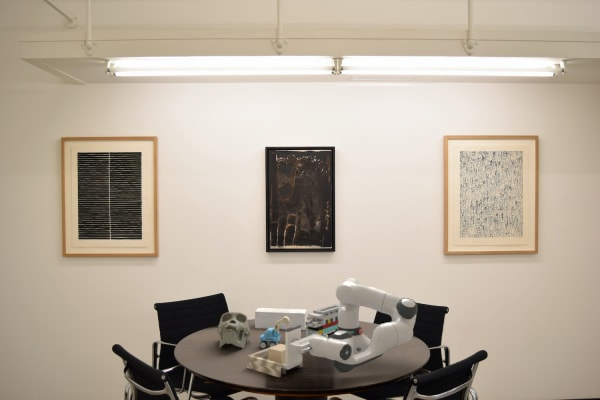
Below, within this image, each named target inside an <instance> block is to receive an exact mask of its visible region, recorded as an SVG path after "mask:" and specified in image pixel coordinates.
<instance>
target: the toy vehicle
mask: <svg viewBox="0 0 600 400" xmlns="http://www.w3.org/2000/svg"><path fill="white" fill-rule="evenodd" d="M338 310H339V304H336V303H334V304H331V305H327V306H325V307H321V308H320V307H319V308H318V309H315V310H312V312H311V313H307V317H309V318H310V319H307V321H305V326H307V328H306V329H305V330H304V331H305V333H304V335H305V337H308V336H310V335H313V334H320V335H324V334H325V335H328V334H331V333H332V332H333V333H334V332H335V331H337V327H338ZM333 333H332V334H333Z"/></svg>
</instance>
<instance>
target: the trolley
mask: <svg viewBox="0 0 600 400" xmlns="http://www.w3.org/2000/svg"><path fill="white" fill-rule="evenodd" d="M300 327H301V324H298V325H295V326H293V327H290V328H287V329H284V331H285V332H284V333H285V343H284V344H282V343H279V344H278V345H276V346H273V347H270V348H269V347H267V348H268V359H267V360H270V361H274V362H277V363H281V376H283V375H286V374H287V371H288V370H290V369H293V368H296V369H299V368H301V367H300V366H301V365H300V364H301V354H299V353H293V352H290V351H289V344H290V343H292V340H293V339H295V338H297V339H302V330H301V328H300Z"/></svg>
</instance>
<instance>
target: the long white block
mask: <svg viewBox="0 0 600 400" xmlns="http://www.w3.org/2000/svg"><path fill="white" fill-rule="evenodd" d="M285 316H287V317H289V319H290V324H289V325H288V326H286V323H285V322H284V323H282V324H281V325H279V330H285V329H287V328H290V327H293V326H295V325H298V324H301V327H300V328H301V331H305V330H306V329H307V328H308V326H305V321H307V320H308V309H306V308H305V309H304V308H303V309H302V308H299V309H297V308H280V307H279V308H274V307H258V308H257V309H256V310H255V311H254V328H255V329H265V330H267V329H269V328H275V323H276V322H277V321H279V320H281V319H283V318H284V317H285Z"/></svg>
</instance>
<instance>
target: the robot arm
mask: <svg viewBox="0 0 600 400" xmlns="http://www.w3.org/2000/svg"><path fill="white" fill-rule="evenodd" d="M335 296H336V298H337V300H338V301H339V304H338V305H339V310H338V327H337V331H335V332H334V333H332V334H331V335H330V336H329V335H328V334H326V335H325V334H324V335H320V334H313V335H310V336H308V337H307V336H305V337H303V338H302V337H301V339H297V338H295V339H293V340H292V343H290V344H289V351H290V352H293V353H299V354H305V353H308V352H309V354H310V355H311V356H314V357H320V358H326V359H327V360H331V361H332V362H331V365H332V367H333V368H334V370H335V371H337V372H339V373H341V374H342V373H349V372H351V371H352V370H354V369H355V368H357V367H359V366H362V365H364V364H366V363H370V362H372V361H374V360H377V359H378V358H381V357H382V356H383V355H384V354H385V352H386V351H387V350H388V349H389V348H391V347H393V346H394V347H395V346H399V345H402V344H405V343H407V342H409V341H411V339H412V338H413V336H414V330H413V329H414V326H415V324H416V320H417V314H418V310H419V309H418V303H417V302H416V301H415V300H414V299H411V298H409V297H400V296H398V295H396V294H394V293H391V292H388V291H386V290H383V289H380V288H377V287H373V286H367V285H364V284H363V285H362V284H361V283H360V281H359V280H358V279H357V278H354V277H348V278H345V279H343V281H341V283H339V284H338V286H337V287H336V289H335ZM360 307H364V308H368V309H370V310H373V311H376V312H379V313H382V314H386V315H388V316H390V317H391V320H390V321H389V322H384V323H380V324H378V325H377V326H376V328H375V329H374V330H373V332H372V335H371V339H370V338H369V337H368V336H367V335H365V334H364V328H363V326H361V325H360Z"/></svg>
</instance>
